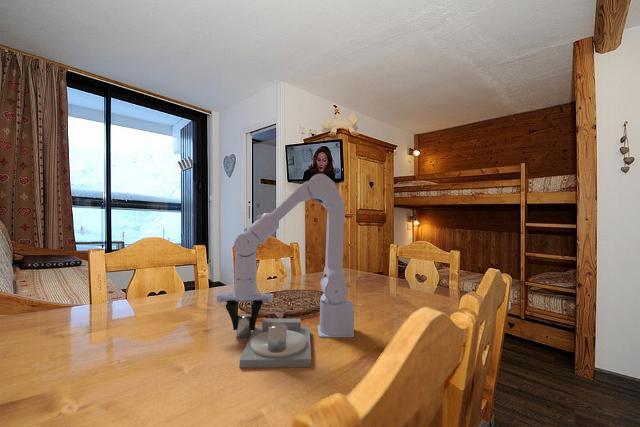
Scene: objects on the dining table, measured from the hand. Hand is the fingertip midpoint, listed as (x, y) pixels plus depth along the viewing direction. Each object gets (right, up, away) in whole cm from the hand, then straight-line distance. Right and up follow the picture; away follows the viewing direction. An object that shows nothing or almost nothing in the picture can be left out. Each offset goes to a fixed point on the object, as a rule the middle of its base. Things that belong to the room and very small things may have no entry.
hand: (244, 328), depth 78 cm
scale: (+10, -2, -7) cm, 13 cm away
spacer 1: (0, -2, 0) cm, 2 cm away
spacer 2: (+11, +1, -14) cm, 18 cm away
